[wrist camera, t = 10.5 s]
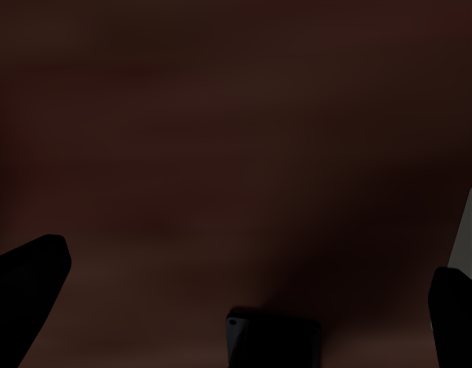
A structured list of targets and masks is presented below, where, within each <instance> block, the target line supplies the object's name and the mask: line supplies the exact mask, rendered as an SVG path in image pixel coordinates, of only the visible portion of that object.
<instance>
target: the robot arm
mask: <svg viewBox="0 0 472 368" xmlns="http://www.w3.org/2000/svg"><path fill="white" fill-rule="evenodd" d="M70 268H71V257H70V254H69V251H68V247H67V244H66V241H65V239H64V237H63V236H61V235H53V234H46V235H44V236H41V237H39V238H37V239H35V240H33V241H31V242H28V243H26V244H24V245H22V246H20V247H18V248H15V249H13V250H11V251H9V252H7V253H5V254H3V255H0V368H18V366H19V365H20V363H21V361H22V360H23V358H24V356H25V355H26V353H27V351H28V350H29V348H30V346H31V345H32V343H33V341H34V340H35V338H36V336H37V335H38V333H39V331H40V330H41V328H42V326H43V324H44V323H45V321H46V319H47V317H48V315H49V313H50V311H51V309H52V307H53V305H54V303H55V301H56V298H57V296H58V294H59V292H60V290H61V288H62V286H63V284H64V282H65V279H66V277H67V275H68V273H69V271H70ZM428 306H429V311H430V317H431V323H432V328H433V334H434V340H435V345H436V351H437V357H438V362H439V367H440V368H472V279H470V278H469V277H468V276H467V275H466V274H464V273H463V272H462V271H461V270H459V269H457V268H449V267H438V268H437V269H436V270H435V273H434V276H433V280H432V283H431V287H430V291H429V294H428ZM234 320H235V321H234ZM312 329H315V330H312ZM226 332H227V347H228V362H229V366H228V368H317V366H318V356H319V347H320V337H321V326H320V325H319V324H318V323H316V322H310V321H301V320H292V319H283V318H274V317H266V316H257V315H248V314H239V313H230V314H228V315H227V319H226Z"/></svg>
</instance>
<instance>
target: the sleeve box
mask: <svg viewBox="0 0 472 368" xmlns="http://www.w3.org/2000/svg"><path fill="white" fill-rule="evenodd" d="M447 267H449V268H457V269H459V270H461V271H462V272H463V273H464V274H466V275H467V276H468V277H469V278H470V279H472V188H470V192H469V195H468V199H467V202H466V205H465V209H464V212H463V215H462V219H461V222H460V226H459V229H458V232H457V236H456V239H455V242H454V246H453V249H452V253H451V256H450V259H449V263H448V266H447ZM430 325H431V328H432V323H430ZM432 331H433V328H432Z"/></svg>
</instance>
